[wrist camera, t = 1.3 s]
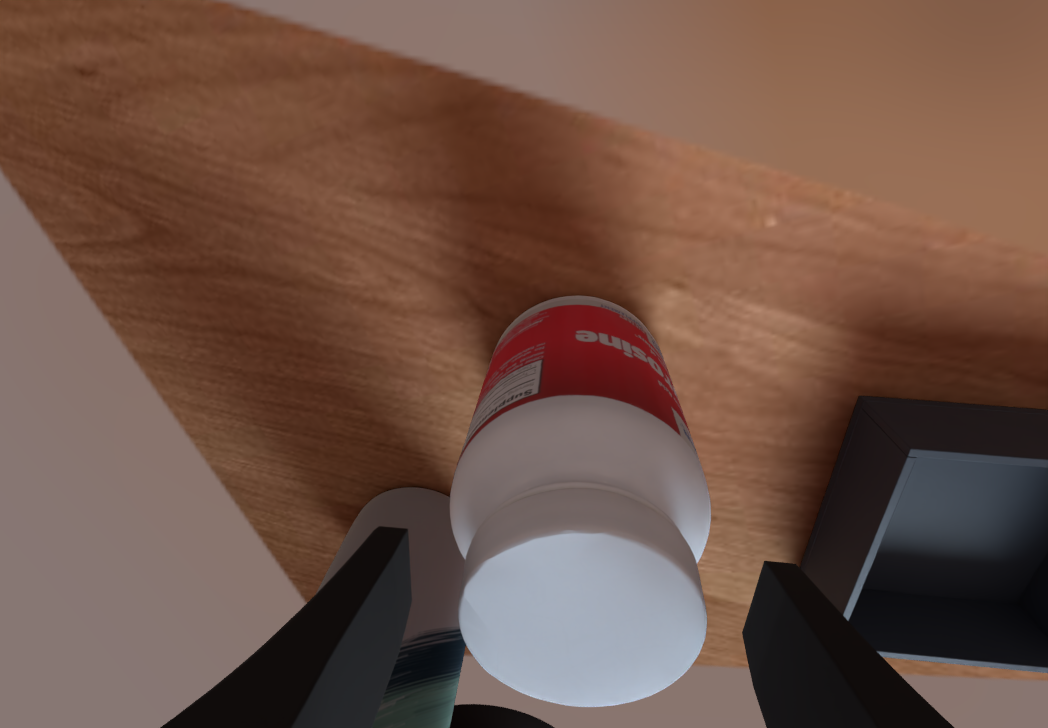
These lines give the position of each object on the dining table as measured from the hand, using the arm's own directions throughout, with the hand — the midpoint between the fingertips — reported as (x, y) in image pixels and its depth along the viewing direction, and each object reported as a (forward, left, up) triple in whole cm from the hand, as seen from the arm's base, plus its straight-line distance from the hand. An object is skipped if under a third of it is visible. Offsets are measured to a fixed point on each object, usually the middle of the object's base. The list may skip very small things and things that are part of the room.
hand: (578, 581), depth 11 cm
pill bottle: (0, 0, -10) cm, 10 cm away
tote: (-5, -15, -10) cm, 18 cm away
